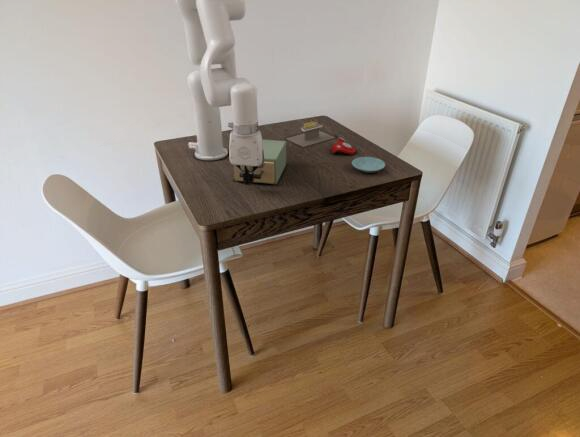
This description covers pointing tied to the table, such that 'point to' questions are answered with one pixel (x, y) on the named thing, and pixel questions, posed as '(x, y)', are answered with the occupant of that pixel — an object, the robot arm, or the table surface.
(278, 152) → the cabinet
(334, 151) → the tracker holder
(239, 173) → the drawer
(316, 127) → the platform
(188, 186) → the table surface
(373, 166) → the saucer
